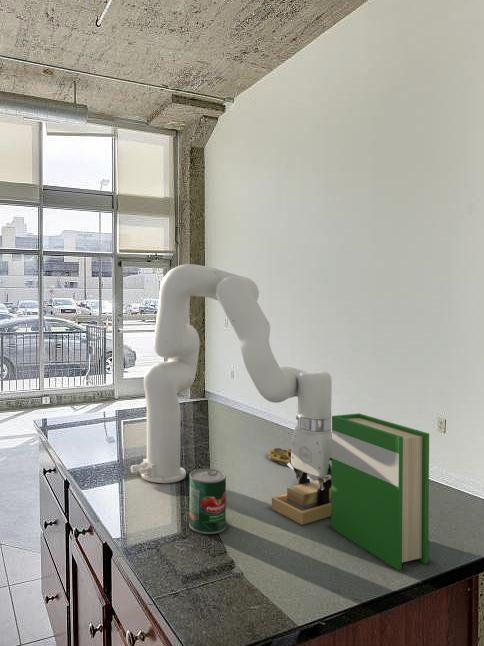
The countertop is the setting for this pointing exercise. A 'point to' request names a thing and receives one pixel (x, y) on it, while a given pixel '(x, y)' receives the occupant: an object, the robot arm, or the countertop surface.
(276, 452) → the yellow-brown textured oval
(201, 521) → the canned tomato
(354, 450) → the hardback book
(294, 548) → the countertop surface
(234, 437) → the countertop surface
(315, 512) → the holder
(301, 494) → the eraser
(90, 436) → the countertop surface
